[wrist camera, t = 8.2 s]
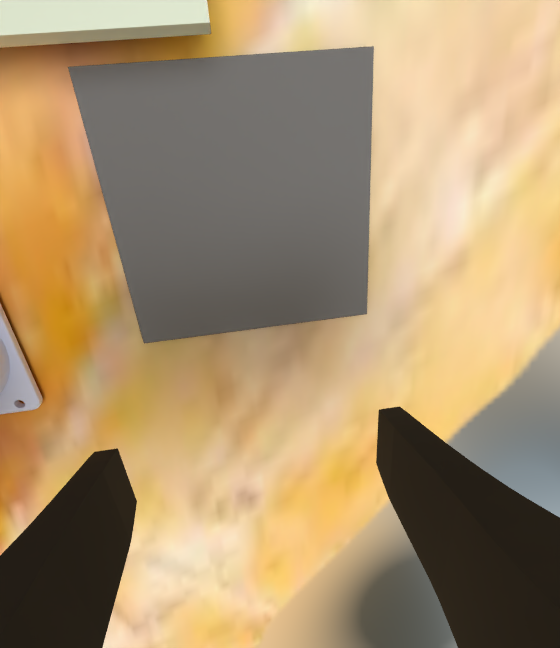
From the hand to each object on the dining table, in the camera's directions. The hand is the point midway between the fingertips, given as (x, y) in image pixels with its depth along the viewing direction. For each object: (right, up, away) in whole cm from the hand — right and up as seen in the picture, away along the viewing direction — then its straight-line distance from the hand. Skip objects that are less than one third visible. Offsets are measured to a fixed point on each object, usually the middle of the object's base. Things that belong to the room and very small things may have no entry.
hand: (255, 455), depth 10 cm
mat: (-1, +9, +7) cm, 12 cm away
